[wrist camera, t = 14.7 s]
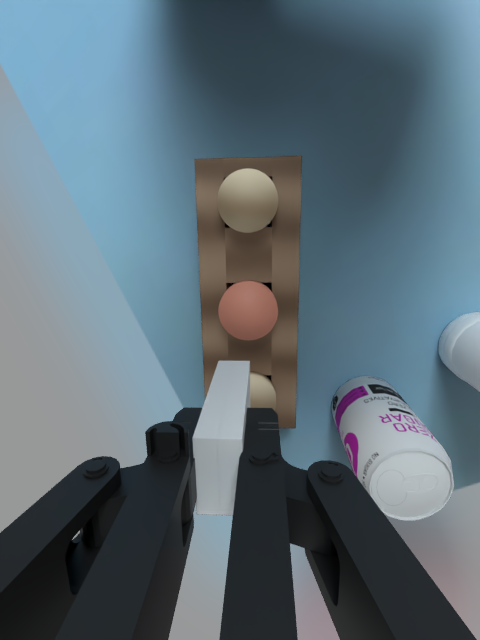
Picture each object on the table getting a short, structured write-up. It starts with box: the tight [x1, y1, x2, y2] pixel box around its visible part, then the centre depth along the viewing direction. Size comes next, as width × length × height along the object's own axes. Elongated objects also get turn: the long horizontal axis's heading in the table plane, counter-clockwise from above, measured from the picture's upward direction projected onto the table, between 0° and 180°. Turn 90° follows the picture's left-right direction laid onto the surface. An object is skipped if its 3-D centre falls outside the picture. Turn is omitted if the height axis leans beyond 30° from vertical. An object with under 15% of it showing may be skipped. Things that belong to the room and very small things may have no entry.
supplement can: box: [331, 376, 454, 520], centre depth 38 cm, size 8×8×15 cm
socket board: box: [195, 156, 302, 428], centre depth 40 cm, size 28×10×6 cm, turn 1°
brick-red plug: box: [218, 280, 278, 340], centre depth 37 cm, size 6×6×7 cm
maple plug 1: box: [217, 168, 278, 233], centre depth 36 cm, size 6×6×7 cm
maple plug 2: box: [250, 371, 276, 411], centre depth 41 cm, size 6×6×7 cm
